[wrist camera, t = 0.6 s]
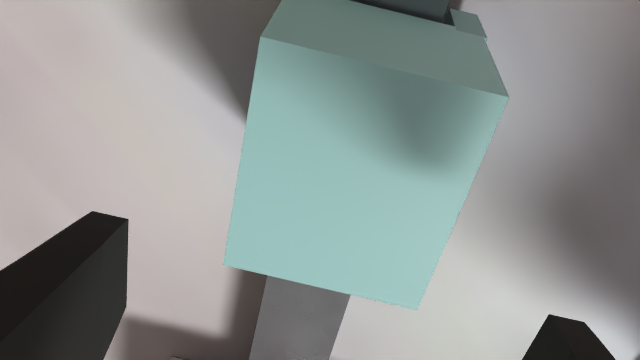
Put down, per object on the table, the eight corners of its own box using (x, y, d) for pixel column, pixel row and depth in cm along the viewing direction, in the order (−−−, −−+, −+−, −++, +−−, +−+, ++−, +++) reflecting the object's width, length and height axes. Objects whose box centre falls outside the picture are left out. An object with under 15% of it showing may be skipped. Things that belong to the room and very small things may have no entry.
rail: (449, -36, 16) (456, -19, 14) (311, 388, 26) (305, 427, 25) (344, -62, 16) (339, -48, 14) (247, 373, 26) (237, 412, 24)
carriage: (476, 14, 16) (514, 98, 11) (413, 188, 19) (420, 311, 14) (295, -30, 16) (255, 35, 11) (262, 152, 19) (219, 264, 14)
